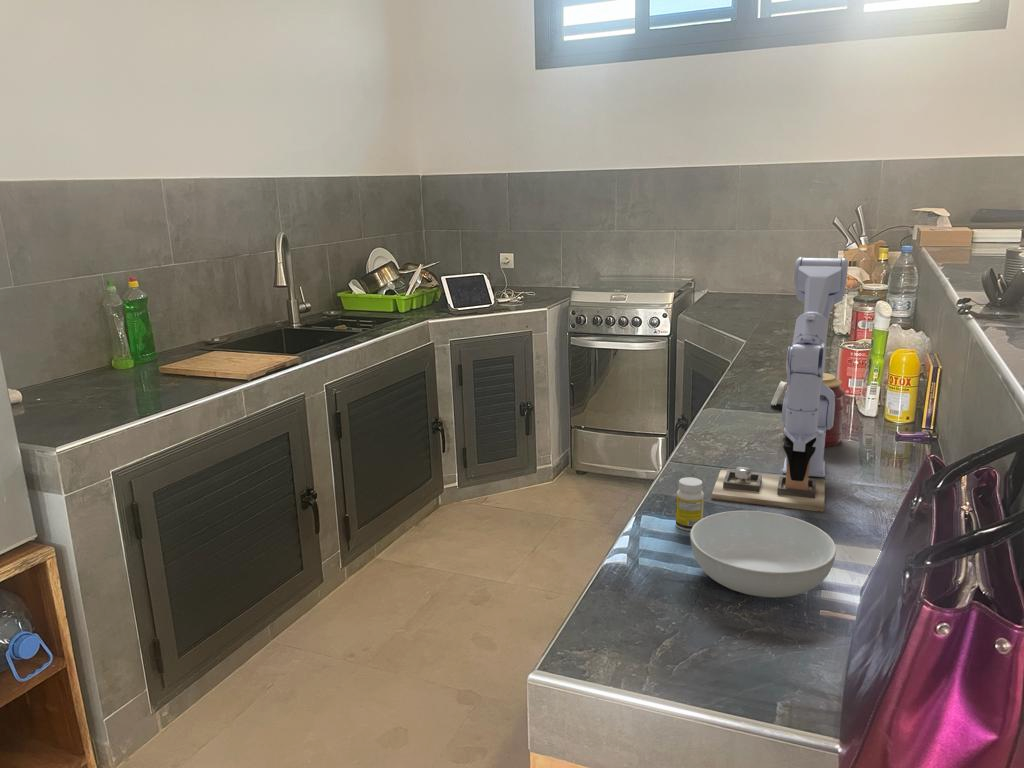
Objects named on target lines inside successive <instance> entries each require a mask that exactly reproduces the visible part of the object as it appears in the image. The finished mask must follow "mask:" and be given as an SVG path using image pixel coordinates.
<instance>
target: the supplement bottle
mask: <svg viewBox="0 0 1024 768" xmlns="http://www.w3.org/2000/svg"><path fill="white" fill-rule="evenodd" d="M675 503H676V505H675V525H676V528H678V529H680V530H683V531H687V532H691V529H692V527H693V526H694V525H695V524H696V523H697V522H698V521H699V520H701V519H703V518H704V516H705V515H704V511H705V510H704V509H705V493H704V492H703V481H702V480H701V479H700V478H698V477H697V478H696V477H691V476H689V477H688V476H686V477H681V478H680V479H679V480H678V490H677V491H676V500H675Z"/></svg>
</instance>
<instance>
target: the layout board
mask: <svg viewBox="0 0 1024 768" xmlns="http://www.w3.org/2000/svg"><path fill="white" fill-rule="evenodd" d="M785 484H786V475H784V476H783V475H776V474H775V475H774V474H768V473H767V474H765V473H758V472H756V473H755V472H751V484H745V483H736V482H735V470H730V469H729V470H728V469H720V471H719V473H718V477H717V478H716V481H715V484H714V487H713V490H712V492H711V499H712V500H713V499H714V500H720V501H727V502H728V501H730V502H738V503H745V504H755V505H764V506H771V507H779V508H787V509H795V510H806V511H813V512H819V511H820V512H821V513H825V498H826V497H825V493H826V492H825V487H826V486H825V485H826V482H825V480H821V479H814V478H809V479H808V490H799V489H790V488H785Z"/></svg>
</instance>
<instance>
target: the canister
mask: <svg viewBox="0 0 1024 768" xmlns="http://www.w3.org/2000/svg"><path fill="white" fill-rule="evenodd" d="M822 382H823V383H824V384H825V385H826V386H828V387H829V388H830V389H831V390H832V391H833V392H834V394H835V412H834V421H833V427H832V428H831V429H830V430H827V429H826V434H825V446H824V448H828V447H829V448H830V447H834V446H837V445H838V444H840V443H841V439H842V434H843V431H842V428H843V427H842V426H843V425H842V424H843V415H844V414H843V413H844V409H845V406H844V403H843V397H844V396H846V391H845V390H844V389H843V388H841V386H842V385H843V381H842V380H841V379H839V378H838V377H837V376H835V374H832V373H829V372H828V373H826V372H824V373H823V381H822ZM787 388H788V386H787V387H786V386H785V387H784V391H786V390H787ZM820 399H823V398H820ZM784 428H785V425H784V424H783V425H782V431H781V432H782V437H783V439H784V440H785V441H786V439H785V434H784Z"/></svg>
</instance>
